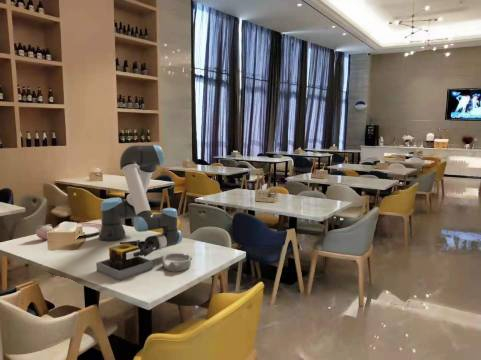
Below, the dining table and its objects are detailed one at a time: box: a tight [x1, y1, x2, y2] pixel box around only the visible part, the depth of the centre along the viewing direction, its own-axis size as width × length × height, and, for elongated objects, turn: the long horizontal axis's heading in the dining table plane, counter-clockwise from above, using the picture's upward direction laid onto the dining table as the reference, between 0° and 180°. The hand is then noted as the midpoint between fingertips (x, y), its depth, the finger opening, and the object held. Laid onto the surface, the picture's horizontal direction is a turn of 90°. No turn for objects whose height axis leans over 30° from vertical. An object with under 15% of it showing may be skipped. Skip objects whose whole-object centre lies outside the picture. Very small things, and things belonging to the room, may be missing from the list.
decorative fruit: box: [35, 222, 54, 241], centre depth 230 cm, size 9×8×10 cm
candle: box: [108, 243, 140, 271], centre depth 183 cm, size 10×10×10 cm
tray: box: [95, 256, 153, 282], centre depth 183 cm, size 18×18×4 cm
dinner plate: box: [76, 222, 102, 237], centre depth 246 cm, size 28×27×3 cm
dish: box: [161, 252, 193, 272], centre depth 188 cm, size 14×14×5 cm
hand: (117, 253), depth 180 cm, fingers open, 13 cm apart
